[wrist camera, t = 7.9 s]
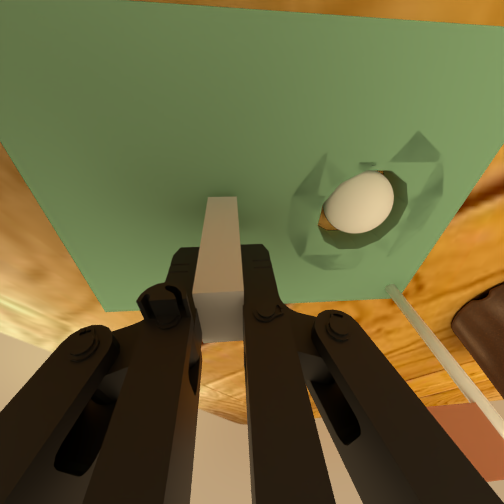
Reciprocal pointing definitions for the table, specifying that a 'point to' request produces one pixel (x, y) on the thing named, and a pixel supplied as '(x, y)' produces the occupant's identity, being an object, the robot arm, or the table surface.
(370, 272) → the green
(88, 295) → the table surface
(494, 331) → the plant pot
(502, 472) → the flag pin
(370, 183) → the ball
